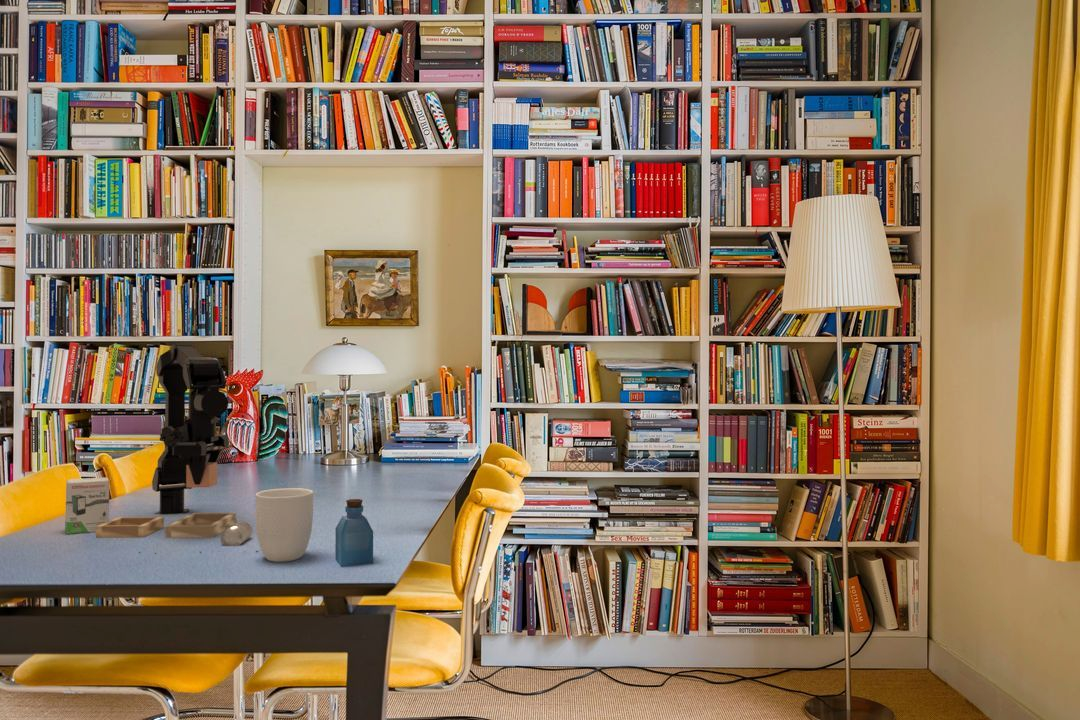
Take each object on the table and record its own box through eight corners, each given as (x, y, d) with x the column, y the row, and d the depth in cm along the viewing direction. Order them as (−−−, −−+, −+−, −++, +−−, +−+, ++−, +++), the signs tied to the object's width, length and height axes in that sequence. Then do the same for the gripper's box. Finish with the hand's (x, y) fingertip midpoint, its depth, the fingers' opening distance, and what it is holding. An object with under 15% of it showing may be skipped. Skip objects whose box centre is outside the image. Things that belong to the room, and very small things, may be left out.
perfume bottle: (340, 566, 150) (341, 504, 150) (335, 559, 156) (335, 498, 156) (373, 563, 153) (373, 502, 153) (366, 556, 159) (367, 496, 159)
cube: (194, 484, 182) (195, 462, 182) (216, 483, 182) (217, 462, 182) (186, 487, 177) (186, 465, 177) (209, 487, 177) (209, 465, 177)
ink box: (65, 534, 176) (66, 482, 176) (64, 530, 181) (65, 479, 181) (109, 530, 181) (109, 479, 181) (107, 526, 185) (108, 476, 185)
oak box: (118, 530, 181) (118, 517, 181) (163, 529, 182) (163, 516, 182) (95, 540, 171) (95, 526, 171) (143, 539, 172) (143, 526, 172)
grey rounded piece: (232, 520, 171) (253, 522, 172) (230, 540, 171) (251, 542, 172) (221, 527, 164) (243, 528, 165) (219, 548, 164) (240, 549, 165)
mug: (237, 553, 160) (238, 489, 160) (289, 545, 168) (289, 484, 168) (269, 568, 149) (270, 499, 149) (323, 558, 157) (323, 492, 157)
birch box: (192, 525, 187) (192, 513, 187) (236, 525, 187) (236, 512, 187) (165, 540, 171) (165, 526, 171) (213, 540, 172) (213, 526, 172)
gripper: (182, 411, 188) (181, 476, 188) (147, 416, 170) (147, 489, 170) (229, 411, 189) (229, 476, 189) (200, 417, 170) (200, 489, 170)
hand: (201, 482), depth 179 cm, fingers closed on cube, 5 cm apart
